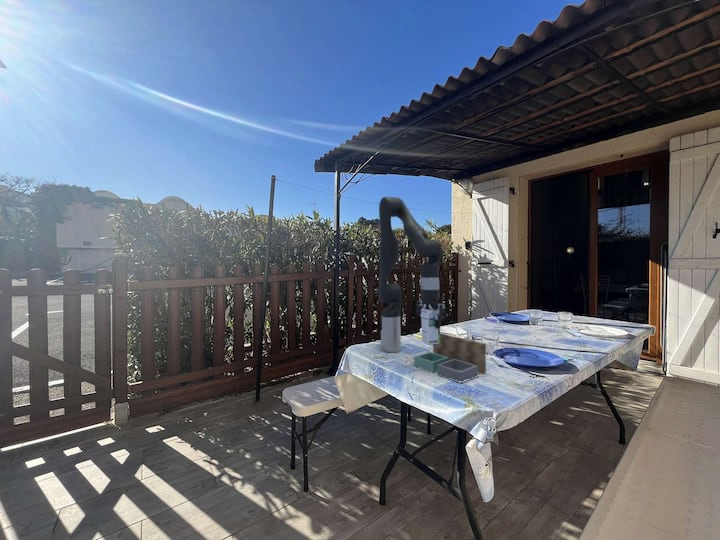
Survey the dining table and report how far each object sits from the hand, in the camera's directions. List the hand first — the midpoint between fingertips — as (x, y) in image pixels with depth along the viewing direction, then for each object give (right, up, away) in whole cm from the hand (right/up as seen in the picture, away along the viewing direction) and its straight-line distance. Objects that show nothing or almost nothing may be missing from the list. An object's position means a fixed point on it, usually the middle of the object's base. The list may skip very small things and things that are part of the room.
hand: (430, 326), depth 132 cm
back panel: (+12, -17, +1) cm, 20 cm away
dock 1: (0, -17, +1) cm, 17 cm away
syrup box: (0, -7, 0) cm, 7 cm away
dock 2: (+8, -17, -10) cm, 21 cm away
